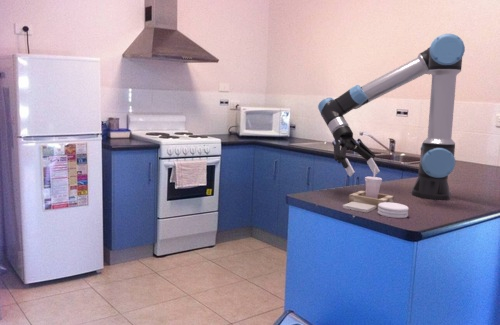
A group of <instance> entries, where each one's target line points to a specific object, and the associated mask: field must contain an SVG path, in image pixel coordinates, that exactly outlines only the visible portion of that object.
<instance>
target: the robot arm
mask: <svg viewBox="0 0 500 325" xmlns="http://www.w3.org/2000/svg"><path fill="white" fill-rule="evenodd" d="M465 51H466V49H465V44H464V41H463V39H462V38H461V37H459V36H458V35H456V34H453V33H443V34H441V35H439V36H437V37H435V38H434V39H433V41H432V42H431V43H430V46H429V47H427V49H425V50H423V51H422V52H420V53H418V55H417V57H415V58H413V59H412V60H410V61H408V62H406V63H403V64H402V65H400V66H399V67H396V68H394V69H393V70H390V71H389V72H386V73H385V74H383V75H381V76H379V77H376V78H375V79H373V80H371V81H369V82H368V83H366V84H364V85H361V86H360V85H359V84H356V85H355V86H352V87H350V88H349V89H348V90H346V91H345V92H344V93H342V94H341V95H339V96H337V97H336V98H335V99H334V98H333V97H326V98H323V99H322V100H321V101H320V102H319V103H318V105H317V109H318V110H319V113H320V116H321V118H322V119H323V121H324V123H325V124H326V126H327V128H328V129H329V131H330V133H331V135H332V137H333V141H332V142H331V143H332V146H333V155H334V156H333V157H334V160H335V161H337V163H338V164H341V165H342V167H343V168H344V170H345V171H346V173H347V175H348V177H352V176H353V175H354V173H356V171H355V170H354V168H353V166H352V165H351V162H350V161H349V159H348V158H347V157H346V154H347V151H350V152H351V151H352V152H353V153H356V154H357V155H360V157H362V158H364V159H365V160H366V163H367V165H368V167H369V168H370V170H371V172H372V175H374V166H376V172H375V176H377V174H379V173H380V169H379V167H378V165H377V163H376V161H375V160H374V158H375V157H376V154H375V153H374V152H373V151H372V150H371V148H369V147H368V146H367V145H365V143H363V141H362V140H361V139H360V138H357V139H355V138H354V133H353V130H352V128H351V127H350V125H349V123H348V122H347V120H346V118H345V116H344V115H346V114H348V113H349V112H351V111H352V110H358V109H360V108H362V106H365V105H367V104H368V103H371V102H372V101H374V100H376V99H378V98H380V97H383V96H385V95H386V94H388V93H390V92H392V91H394V90H396V89H398V88H400V87H402V86H405V85H406V84H407V83H410V82H412V81H414V80H416V79H418V78H420V77H422V76H424V75H431V88H430V100H429V101H430V102H429V112H428V113H429V114H428V126H427V128H428V129H427V137H426V139H424V140H423V141H422V144H421V147H420V156H419V163H418V164H419V166H418V174H417V178H416V181H415V183H414V185H413V187H412V189H411V190H412V191H411V195H412V196H413V197H416V198H418V199H425V200H430V201H431V200H433V201H449V200H451V192H450V187H449V180H448V178H449V175H451V174H452V173H453V171H454V169H455V168H456V157H455V152H456V151H455V150H456V142H455V141H454V140H453V139H452V134H453V122H454V110H455V108H454V107H455V97H456V88H457V87H456V85H457V76H458V75H459V74H460V73H461V72H462V65H463V57H464V55H465V54H464V53H465Z"/></svg>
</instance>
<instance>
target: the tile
mask: <svg viewBox="0 0 500 325" xmlns="http://www.w3.org/2000/svg"><path fill="white" fill-rule="evenodd" d="M342 208H343V209H345V210H350V209H351V211H356V212H361V213H370V212H372V211H375V210H376V209H377V208H376V206H374V205H369V204H363V203H357V202H350V203H345V204H342Z"/></svg>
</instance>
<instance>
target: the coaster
mask: <svg viewBox="0 0 500 325" xmlns="http://www.w3.org/2000/svg"><path fill="white" fill-rule="evenodd" d="M409 209H410V208H409V206H407V205H406V204H403V203H398V202H394V203H390V202H383V203H379V204H378V208H377V214H378V215H380V216H383V217H386V218H392V219H406V218H408V217H409Z"/></svg>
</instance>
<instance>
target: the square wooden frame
mask: <svg viewBox="0 0 500 325" xmlns="http://www.w3.org/2000/svg"><path fill="white" fill-rule="evenodd" d="M348 202H349V203H350V202H357V203H363V204H369V205H374V206H376V209H378V204H379V203H383V202H390V203H395V195H391V194H387V193H386V194H385V193H380V192H379V194H378V198H371V197H366V190H359V191H356V192H353V193H350V194H349V195H348Z"/></svg>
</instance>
